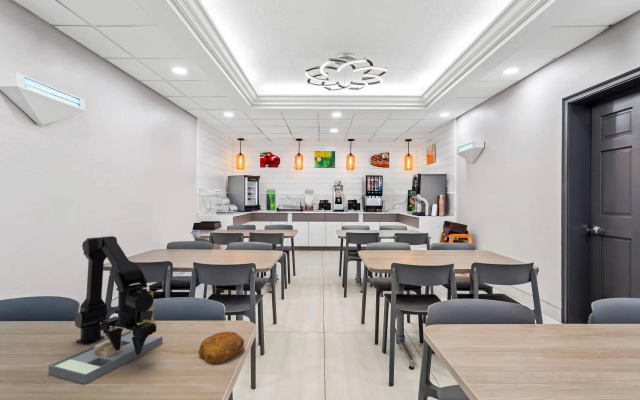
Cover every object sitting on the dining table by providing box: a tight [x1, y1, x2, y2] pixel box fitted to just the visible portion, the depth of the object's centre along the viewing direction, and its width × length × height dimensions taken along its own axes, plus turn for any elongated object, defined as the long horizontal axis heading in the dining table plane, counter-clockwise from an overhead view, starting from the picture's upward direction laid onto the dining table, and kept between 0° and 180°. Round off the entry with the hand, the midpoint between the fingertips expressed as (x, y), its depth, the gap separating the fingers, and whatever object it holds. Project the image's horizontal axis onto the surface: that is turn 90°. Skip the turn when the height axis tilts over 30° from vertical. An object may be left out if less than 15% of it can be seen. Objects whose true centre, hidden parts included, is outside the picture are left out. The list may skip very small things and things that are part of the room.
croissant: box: [198, 331, 245, 364], centre depth 114 cm, size 14×16×8 cm
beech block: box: [94, 339, 122, 358], centre depth 110 cm, size 6×6×3 cm
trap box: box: [48, 330, 163, 385], centre depth 111 cm, size 16×28×3 cm, turn 161°
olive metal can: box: [137, 290, 155, 325], centre depth 138 cm, size 6×6×14 cm
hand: (128, 352), depth 108 cm, fingers open, 9 cm apart
